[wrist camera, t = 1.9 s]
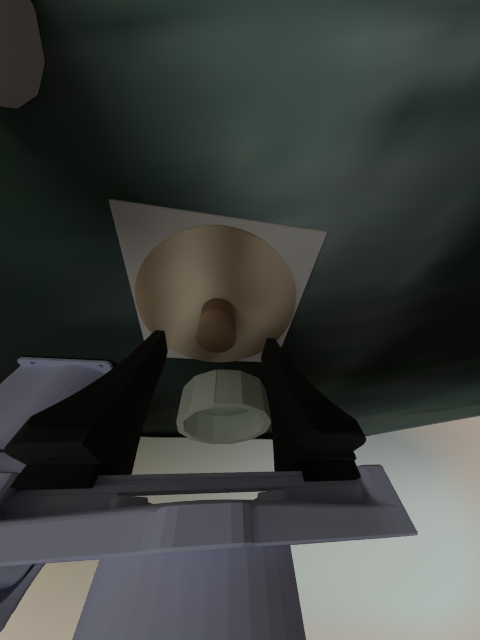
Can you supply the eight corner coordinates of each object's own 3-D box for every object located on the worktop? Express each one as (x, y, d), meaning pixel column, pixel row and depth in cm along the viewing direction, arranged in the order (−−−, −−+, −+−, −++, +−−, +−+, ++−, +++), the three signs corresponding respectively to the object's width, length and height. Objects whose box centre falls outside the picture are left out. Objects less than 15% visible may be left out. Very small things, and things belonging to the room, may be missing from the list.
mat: (149, 352, 21) (148, 356, 20) (112, 199, 12) (108, 199, 11) (274, 359, 23) (275, 362, 22) (324, 231, 14) (326, 232, 13)
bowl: (185, 412, 30) (180, 444, 26) (181, 367, 23) (173, 402, 19) (256, 413, 31) (259, 443, 28) (273, 371, 24) (280, 404, 21)
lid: (152, 353, 20) (137, 388, 17) (118, 210, 12) (74, 222, 8) (272, 359, 22) (280, 392, 19) (317, 238, 14) (347, 257, 10)
